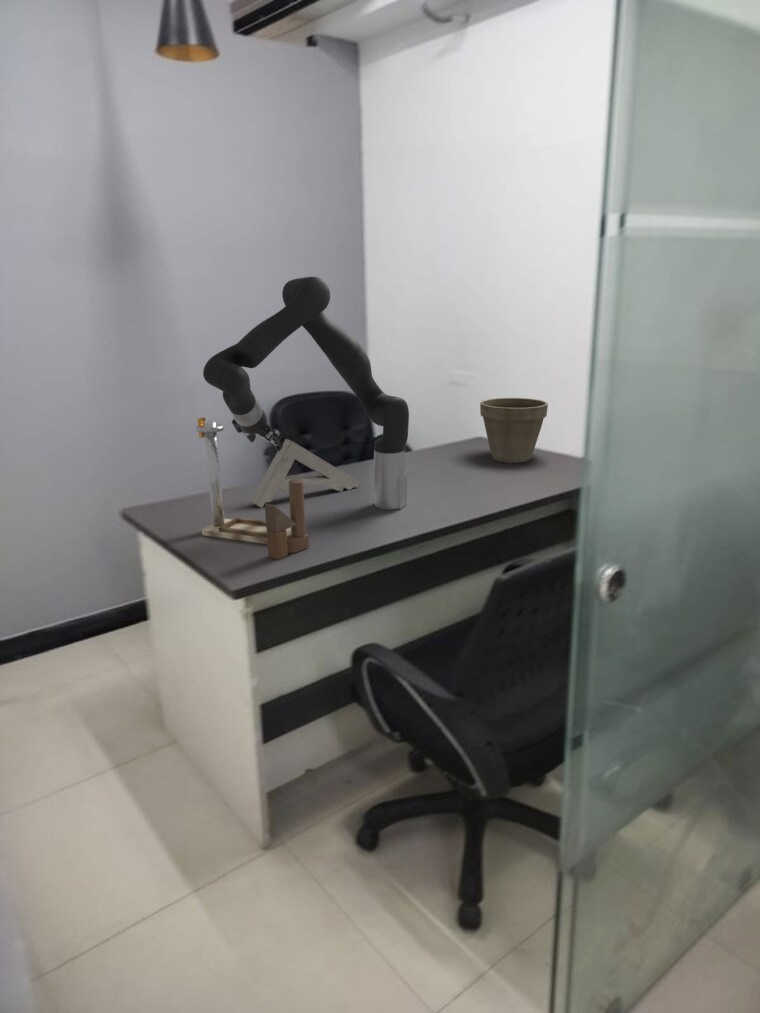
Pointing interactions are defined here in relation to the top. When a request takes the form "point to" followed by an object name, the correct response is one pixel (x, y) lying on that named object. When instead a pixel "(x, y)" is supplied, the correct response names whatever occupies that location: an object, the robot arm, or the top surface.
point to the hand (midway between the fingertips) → (266, 443)
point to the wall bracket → (279, 480)
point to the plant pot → (513, 427)
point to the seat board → (241, 530)
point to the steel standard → (213, 467)
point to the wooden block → (287, 524)
